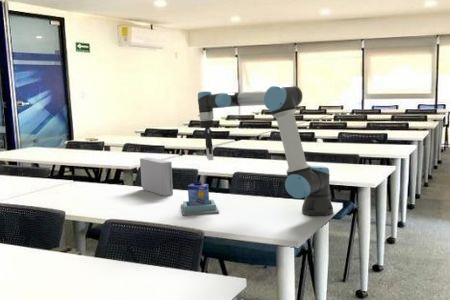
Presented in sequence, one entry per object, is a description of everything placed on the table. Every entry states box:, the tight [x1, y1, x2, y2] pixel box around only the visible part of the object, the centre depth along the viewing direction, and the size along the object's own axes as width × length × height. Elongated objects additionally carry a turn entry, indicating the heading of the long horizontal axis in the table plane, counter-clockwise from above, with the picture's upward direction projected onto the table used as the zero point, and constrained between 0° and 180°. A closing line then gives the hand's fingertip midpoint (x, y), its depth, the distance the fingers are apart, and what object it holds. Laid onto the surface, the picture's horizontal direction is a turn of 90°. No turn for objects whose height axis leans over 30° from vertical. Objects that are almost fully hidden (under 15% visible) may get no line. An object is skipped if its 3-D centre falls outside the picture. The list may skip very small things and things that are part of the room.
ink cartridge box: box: [187, 180, 210, 206], centre depth 256 cm, size 10×6×14 cm, turn 76°
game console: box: [139, 156, 174, 197], centre depth 301 cm, size 6×27×20 cm, turn 39°
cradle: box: [180, 199, 220, 217], centre depth 257 cm, size 20×18×4 cm
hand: (210, 159), depth 269 cm, fingers open, 13 cm apart
